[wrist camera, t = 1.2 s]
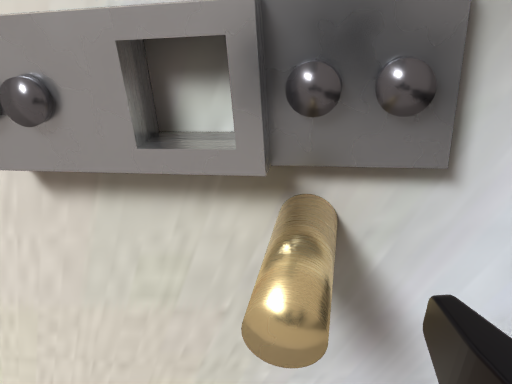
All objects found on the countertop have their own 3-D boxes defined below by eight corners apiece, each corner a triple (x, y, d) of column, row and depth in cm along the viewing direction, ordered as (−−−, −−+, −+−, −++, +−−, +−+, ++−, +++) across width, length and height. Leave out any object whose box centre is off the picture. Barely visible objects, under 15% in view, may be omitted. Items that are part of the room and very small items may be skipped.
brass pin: (337, 246, 22) (327, 373, 15) (279, 243, 22) (245, 362, 15) (338, 195, 21) (328, 306, 14) (277, 193, 21) (237, 298, 14)
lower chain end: (442, 158, 19) (450, 174, 17) (141, 154, 22) (124, 167, 20) (466, -20, 16) (478, -19, 14) (111, 6, 19) (89, 9, 17)
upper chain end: (274, 155, 20) (262, 182, 18) (17, 152, 23) (-26, 174, 21) (266, -5, 17) (250, -3, 15) (-29, 16, 20) (-85, 22, 18)
